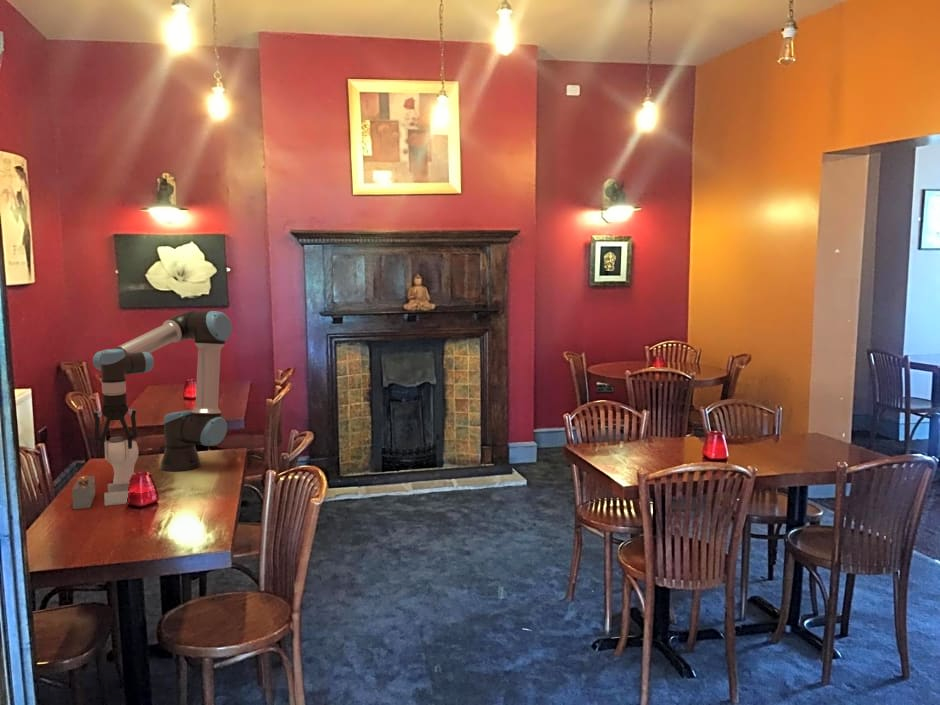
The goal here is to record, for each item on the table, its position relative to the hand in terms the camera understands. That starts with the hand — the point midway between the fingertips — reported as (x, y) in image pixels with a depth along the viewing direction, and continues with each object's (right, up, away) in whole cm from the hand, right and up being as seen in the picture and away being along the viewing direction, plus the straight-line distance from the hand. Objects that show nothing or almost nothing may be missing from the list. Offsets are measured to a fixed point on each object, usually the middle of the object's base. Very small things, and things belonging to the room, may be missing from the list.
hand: (117, 458), depth 260 cm
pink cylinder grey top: (0, -1, 0) cm, 1 cm away
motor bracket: (-4, -15, 0) cm, 15 cm away
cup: (-8, -13, +23) cm, 27 cm away
